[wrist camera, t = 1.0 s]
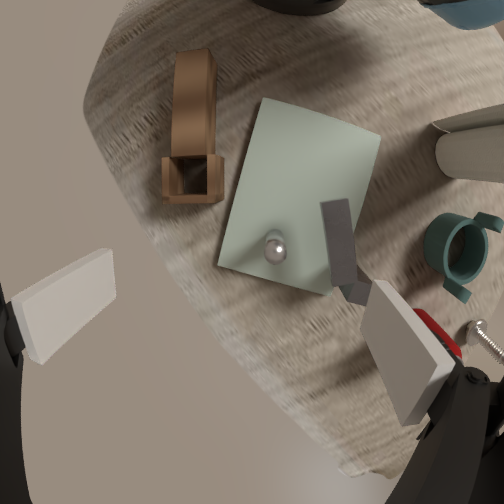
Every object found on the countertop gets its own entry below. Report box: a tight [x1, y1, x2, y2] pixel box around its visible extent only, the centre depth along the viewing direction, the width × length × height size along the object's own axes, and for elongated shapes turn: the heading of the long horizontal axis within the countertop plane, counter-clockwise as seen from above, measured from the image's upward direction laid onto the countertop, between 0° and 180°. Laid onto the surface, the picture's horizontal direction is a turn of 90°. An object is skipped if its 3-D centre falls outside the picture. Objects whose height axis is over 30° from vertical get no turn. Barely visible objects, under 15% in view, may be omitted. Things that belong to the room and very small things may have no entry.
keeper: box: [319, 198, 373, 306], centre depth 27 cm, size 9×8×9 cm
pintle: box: [264, 229, 287, 265], centre depth 28 cm, size 2×2×7 cm
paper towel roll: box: [433, 104, 504, 183], centre depth 17 cm, size 7×6×21 cm
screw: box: [466, 319, 504, 365], centre depth 27 cm, size 13×5×5 cm
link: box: [162, 48, 224, 204], centre depth 27 cm, size 17×6×5 cm, turn 0°
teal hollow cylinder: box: [424, 212, 504, 304], centre depth 26 cm, size 9×9×9 cm
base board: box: [218, 97, 381, 296], centre depth 30 cm, size 20×14×1 cm
